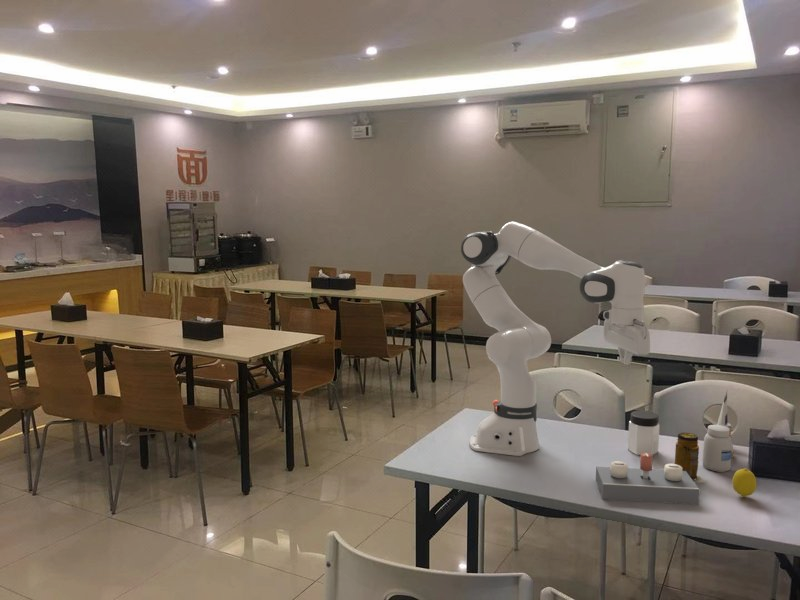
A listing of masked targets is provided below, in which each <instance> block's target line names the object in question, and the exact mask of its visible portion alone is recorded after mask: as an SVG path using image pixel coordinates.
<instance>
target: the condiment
mask: <svg viewBox="0 0 800 600" xmlns="http://www.w3.org/2000/svg"><path fill="white" fill-rule="evenodd" d="M698 441H699V437H698V436H697V435H696V434H695V433H691V432H687V431H686V432H679V433H678V434H677V441H676V443H675V454H674V464H677V465H679V466H681V467H682V471H686V472H687V473H688V475H689V476H690V477H691V479H692V480H693V482H694V483H695V484H696V483H706V481H705V479H703V478H702V476H700V475H699V474H698V470H699V469H698V468H699V454H700V452H699V451H700V446H699V444H698V443H699V442H698Z"/></svg>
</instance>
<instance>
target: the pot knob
mask: <svg viewBox="0 0 800 600" xmlns="http://www.w3.org/2000/svg"><path fill="white" fill-rule="evenodd" d="M653 456H654V455H652V454H650V453H641V455H640V460H639V469H641V470H643V479H645V480H648V475H649V471H652V469H653V459H654V457H653Z"/></svg>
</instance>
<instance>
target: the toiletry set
mask: <svg viewBox="0 0 800 600" xmlns="http://www.w3.org/2000/svg"><path fill="white" fill-rule="evenodd" d="M732 432H734V429H733V426H732V424H731V423H730V422H728V388H726V391H725V394H724V398H723V402H722V405H721V409H720V413H719V415H718V419H717V424H710V425H708V426H707V433H706V434H705V435H704V438H703V447H702V448H703V449H702V466H703V467H704V468H706V469H707V470H709V471H713V472H719V473H723V472H728V471H730V470H731V463H732V460H734V458H735V457H734V455H735V450H734V447H733V443H732V438H731V434H732Z"/></svg>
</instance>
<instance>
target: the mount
mask: <svg viewBox="0 0 800 600" xmlns="http://www.w3.org/2000/svg"><path fill="white" fill-rule="evenodd" d="M610 467H611V466H595V482H596V485H597V487H598V490H599V493H600V495H601V498H602V500H612V501H613V500H614V501H632V502H648V503H651V502H652V503H662V502H663V503H664V504H665V502H666V503H668V504H682V505H685V504H686V505H699V502H700V488H699V487H698V486H697V484H696V483H695V482H693V480H692V479H691V477H690V476H689V475H688V473H687V472H686V471H682V480H680V481H670V480H668V479H666V478H665V477H664V469H655V468H654V469H653V468H652V471H649V475H648V480H645V479H643V470H641V469H640V468H633V467H632V468H630V467H628V472H627V477H626V478H616V477H613V476H611V475H610Z"/></svg>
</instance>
